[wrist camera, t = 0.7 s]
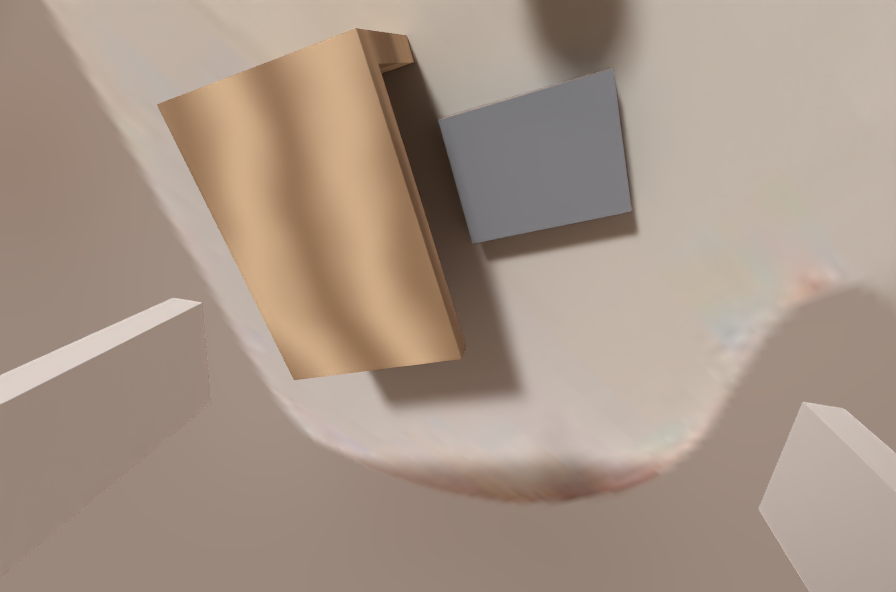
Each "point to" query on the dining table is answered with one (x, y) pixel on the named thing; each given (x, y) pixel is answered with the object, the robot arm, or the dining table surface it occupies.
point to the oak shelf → (322, 206)
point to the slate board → (540, 158)
